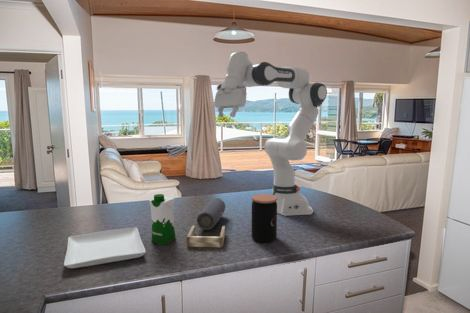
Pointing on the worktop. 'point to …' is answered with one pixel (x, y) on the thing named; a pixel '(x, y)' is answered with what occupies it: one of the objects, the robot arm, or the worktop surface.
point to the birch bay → (205, 239)
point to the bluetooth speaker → (211, 214)
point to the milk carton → (162, 219)
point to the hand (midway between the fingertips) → (226, 117)
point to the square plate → (103, 247)
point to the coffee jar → (264, 218)
